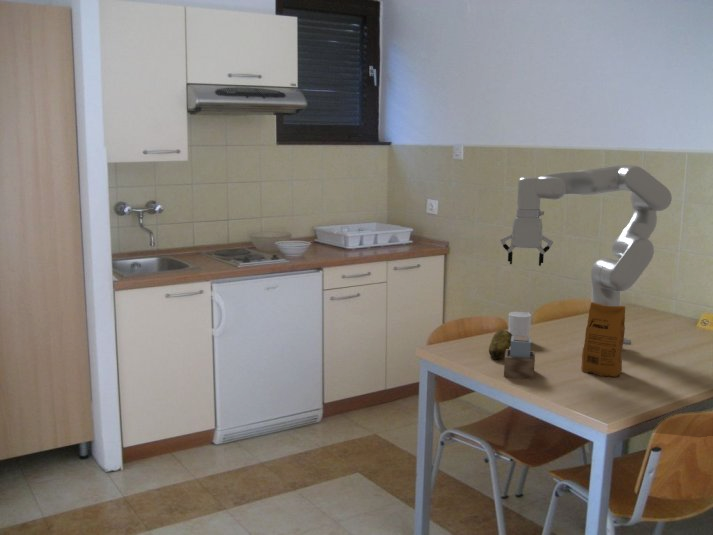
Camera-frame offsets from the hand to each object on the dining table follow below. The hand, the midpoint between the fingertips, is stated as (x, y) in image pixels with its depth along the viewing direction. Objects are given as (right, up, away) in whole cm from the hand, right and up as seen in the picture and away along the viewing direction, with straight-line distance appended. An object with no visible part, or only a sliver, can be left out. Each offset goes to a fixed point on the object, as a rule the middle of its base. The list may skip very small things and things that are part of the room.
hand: (525, 264), depth 253 cm
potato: (-9, -31, -1) cm, 32 cm away
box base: (-6, -34, -20) cm, 40 cm away
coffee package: (+20, -34, -16) cm, 43 cm away
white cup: (+1, -28, +17) cm, 33 cm away
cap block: (-6, -29, -20) cm, 36 cm away
